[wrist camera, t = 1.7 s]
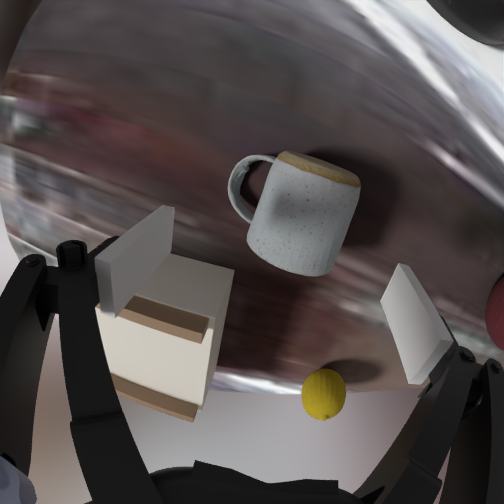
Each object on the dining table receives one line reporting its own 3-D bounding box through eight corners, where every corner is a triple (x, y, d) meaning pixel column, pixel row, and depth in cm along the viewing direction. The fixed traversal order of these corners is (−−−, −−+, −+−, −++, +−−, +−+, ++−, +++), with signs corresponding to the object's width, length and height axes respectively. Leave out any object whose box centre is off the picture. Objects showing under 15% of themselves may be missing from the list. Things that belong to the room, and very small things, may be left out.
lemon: (315, 386, 37) (314, 433, 30) (294, 366, 35) (291, 416, 28) (350, 372, 35) (355, 421, 28) (331, 350, 33) (335, 401, 26)
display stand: (234, 270, 30) (208, 333, 21) (216, 365, 37) (197, 424, 29) (119, 239, 31) (66, 283, 22) (126, 336, 38) (93, 384, 29)
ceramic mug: (357, 169, 24) (378, 188, 17) (328, 247, 27) (334, 291, 21) (243, 134, 24) (220, 139, 17) (224, 216, 28) (197, 249, 21)
